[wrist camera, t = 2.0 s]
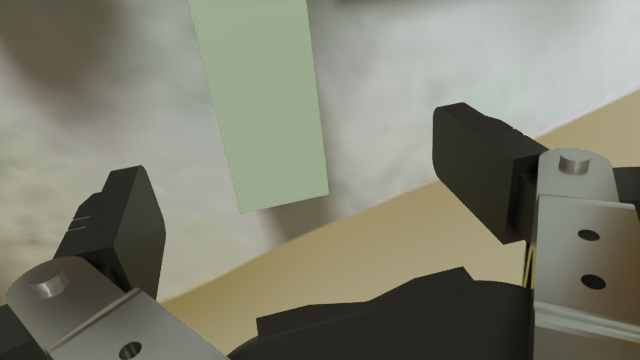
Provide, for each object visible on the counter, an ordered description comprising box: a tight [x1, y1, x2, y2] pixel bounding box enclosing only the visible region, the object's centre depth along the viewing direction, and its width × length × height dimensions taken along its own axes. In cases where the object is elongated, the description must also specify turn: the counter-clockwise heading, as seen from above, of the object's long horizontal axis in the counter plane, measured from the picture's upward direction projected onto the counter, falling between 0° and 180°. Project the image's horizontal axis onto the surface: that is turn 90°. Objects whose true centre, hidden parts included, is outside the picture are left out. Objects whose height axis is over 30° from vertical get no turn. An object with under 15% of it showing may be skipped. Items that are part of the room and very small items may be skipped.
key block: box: [188, 0, 329, 214], centre depth 21 cm, size 4×9×9 cm, turn 7°
